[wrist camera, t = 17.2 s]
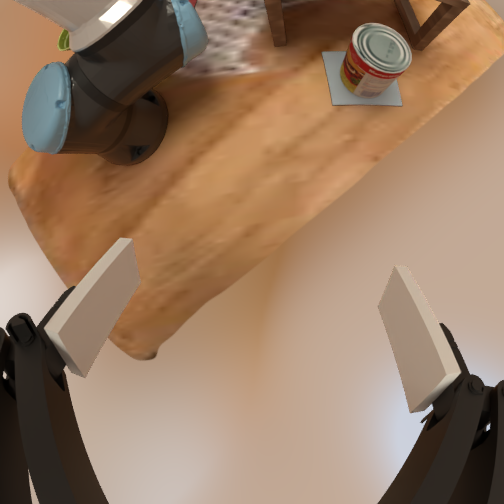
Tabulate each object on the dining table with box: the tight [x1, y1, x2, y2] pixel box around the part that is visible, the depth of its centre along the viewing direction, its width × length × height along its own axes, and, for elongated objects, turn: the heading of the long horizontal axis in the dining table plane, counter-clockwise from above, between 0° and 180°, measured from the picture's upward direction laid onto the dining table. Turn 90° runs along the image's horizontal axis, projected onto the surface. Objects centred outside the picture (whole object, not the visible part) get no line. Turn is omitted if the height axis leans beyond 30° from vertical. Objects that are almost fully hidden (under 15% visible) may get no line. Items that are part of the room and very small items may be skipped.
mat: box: [322, 51, 402, 106], centre depth 34 cm, size 12×10×1 cm
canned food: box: [340, 23, 412, 99], centre depth 28 cm, size 8×8×12 cm
